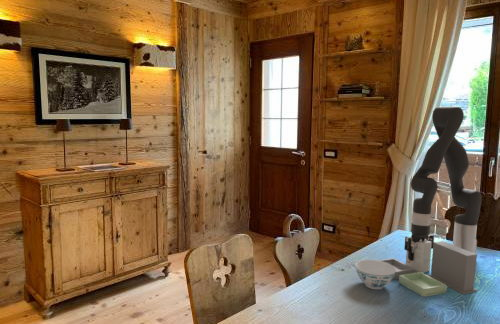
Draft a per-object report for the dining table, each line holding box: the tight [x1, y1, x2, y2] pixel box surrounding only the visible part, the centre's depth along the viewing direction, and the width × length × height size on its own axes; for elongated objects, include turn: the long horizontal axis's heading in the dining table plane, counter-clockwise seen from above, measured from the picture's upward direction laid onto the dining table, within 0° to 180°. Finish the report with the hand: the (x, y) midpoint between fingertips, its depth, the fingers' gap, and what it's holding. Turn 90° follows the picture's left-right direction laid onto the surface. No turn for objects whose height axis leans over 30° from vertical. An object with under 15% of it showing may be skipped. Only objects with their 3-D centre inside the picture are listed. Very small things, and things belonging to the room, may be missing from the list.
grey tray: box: [377, 257, 416, 280], centre depth 165 cm, size 11×13×3 cm
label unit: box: [427, 240, 478, 295], centre depth 154 cm, size 7×17×15 cm, turn 20°
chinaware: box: [355, 259, 396, 290], centre depth 151 cm, size 15×15×8 cm
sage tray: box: [398, 272, 448, 298], centre depth 151 cm, size 11×13×3 cm
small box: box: [405, 241, 432, 274], centre depth 168 cm, size 8×6×13 cm
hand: (418, 259), depth 168 cm, fingers closed on small box, 7 cm apart
